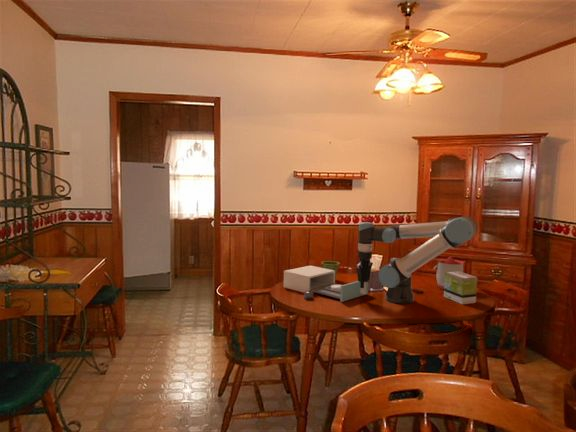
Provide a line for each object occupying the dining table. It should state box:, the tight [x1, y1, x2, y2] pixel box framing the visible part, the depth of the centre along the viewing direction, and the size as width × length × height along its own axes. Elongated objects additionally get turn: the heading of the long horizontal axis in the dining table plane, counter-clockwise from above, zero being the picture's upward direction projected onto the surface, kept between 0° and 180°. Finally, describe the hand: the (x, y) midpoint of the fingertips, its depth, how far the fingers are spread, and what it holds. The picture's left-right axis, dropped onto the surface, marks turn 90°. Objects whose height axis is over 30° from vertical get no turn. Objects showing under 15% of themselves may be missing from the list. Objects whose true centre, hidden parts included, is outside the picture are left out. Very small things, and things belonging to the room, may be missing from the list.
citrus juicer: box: [433, 256, 465, 291], centre depth 273 cm, size 16×17×20 cm
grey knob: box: [303, 291, 314, 301], centre depth 246 cm, size 5×5×4 cm
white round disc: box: [331, 284, 343, 291], centre depth 256 cm, size 8×8×2 cm
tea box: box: [443, 271, 478, 305], centre depth 248 cm, size 15×10×15 cm, turn 21°
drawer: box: [310, 280, 369, 303], centre depth 255 cm, size 24×24×9 cm
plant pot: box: [320, 260, 341, 280], centre depth 290 cm, size 12×12×11 cm
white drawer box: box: [283, 265, 336, 294], centre depth 270 cm, size 20×24×10 cm
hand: (363, 293), depth 244 cm, fingers closed
